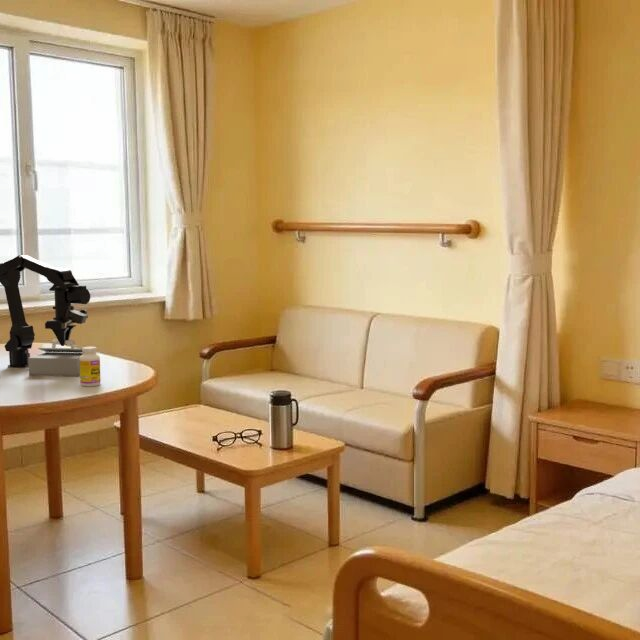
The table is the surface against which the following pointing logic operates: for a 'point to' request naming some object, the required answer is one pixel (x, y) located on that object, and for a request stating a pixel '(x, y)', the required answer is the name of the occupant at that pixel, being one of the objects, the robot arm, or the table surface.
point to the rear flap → (54, 349)
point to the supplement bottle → (89, 367)
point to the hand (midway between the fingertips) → (64, 345)
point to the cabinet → (55, 364)
